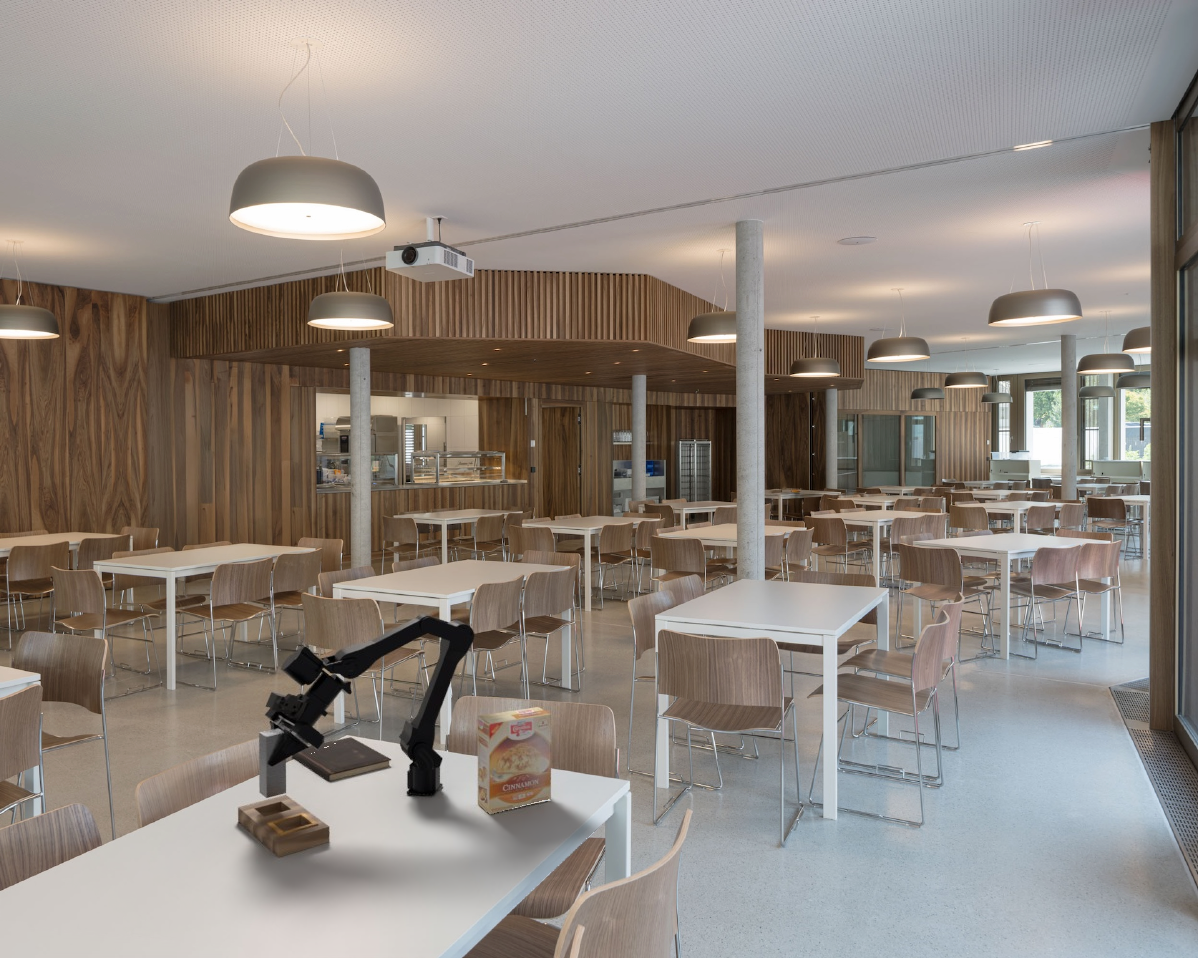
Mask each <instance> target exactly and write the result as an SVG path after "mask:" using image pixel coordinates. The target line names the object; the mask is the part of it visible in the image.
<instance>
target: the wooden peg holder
mask: <svg viewBox="0 0 1198 958" xmlns="http://www.w3.org/2000/svg"><path fill="white" fill-rule="evenodd" d="M237 817H238V820H237V822H238V823H239V822H240V823H239V824H240V825H241V826H243V827H244V829H246V828H247V829H246V830H247V831H248V830H249V831H250V832H249V833H250V834H251V835H253V836H254V837H255V838H256V839H257V838H258V839H259V840H258V839H257V840H258V841H259V842H261V843H262V844H263V845H264V846H265V847H266V848H268V850H270V851H271V852H272V853H273V855H275V856H277V858H280V857H284V856H286V855H287V856H288V855H291V854H295V853H297V852H300V851H304V850H307V849H311V848H314V847H317V846H320V845H323V844H327V843H330V826H329V825H328V824H326V823H325V822H324V821H322V820H321V819H320V818H319V817H318V816H316V815H314V814H313V813H311V812H310V811H309V810H307V809H306V808H304V807H303V805H301V804H299V803H298V802H297V801H296V800H293V799H292V798H291V797H290V796H288V795H287V794H282V795H278V796H274V797H271V798H267V799H263V800H261V801H257V802H252V803H249V804H245V805H240V806H238V807H237Z"/></svg>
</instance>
